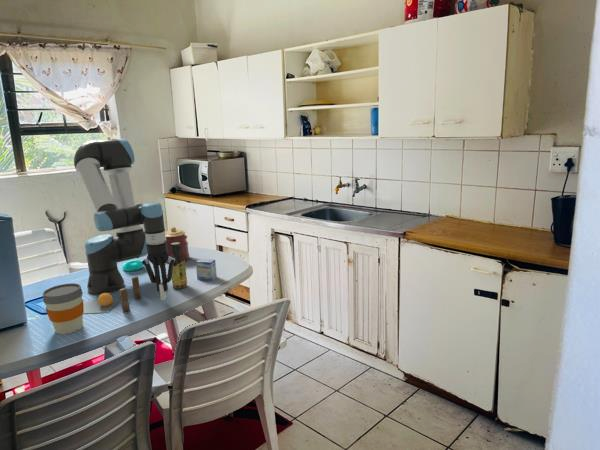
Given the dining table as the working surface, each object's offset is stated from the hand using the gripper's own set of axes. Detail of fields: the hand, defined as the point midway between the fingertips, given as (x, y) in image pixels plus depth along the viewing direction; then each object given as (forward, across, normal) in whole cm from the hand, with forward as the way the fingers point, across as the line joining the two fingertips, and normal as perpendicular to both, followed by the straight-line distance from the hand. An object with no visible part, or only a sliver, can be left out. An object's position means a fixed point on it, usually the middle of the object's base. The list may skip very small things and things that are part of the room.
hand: (163, 298), depth 179 cm
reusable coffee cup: (+2, -29, -19) cm, 35 cm away
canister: (+2, -10, +56) cm, 57 cm away
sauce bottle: (+2, +2, +17) cm, 17 cm away
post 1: (+2, -13, -6) cm, 15 cm away
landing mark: (+2, -27, 0) cm, 27 cm away
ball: (-1, -23, 0) cm, 23 cm away
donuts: (+2, -29, +45) cm, 54 cm away
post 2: (+2, -13, +6) cm, 15 cm away
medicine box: (+2, +12, +26) cm, 29 cm away
